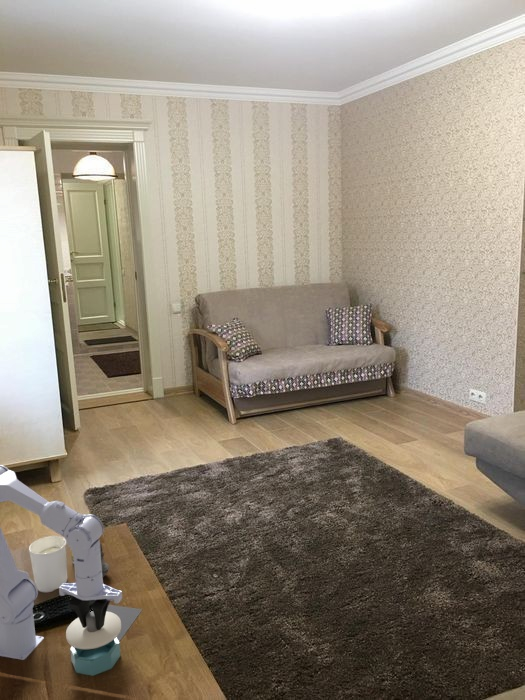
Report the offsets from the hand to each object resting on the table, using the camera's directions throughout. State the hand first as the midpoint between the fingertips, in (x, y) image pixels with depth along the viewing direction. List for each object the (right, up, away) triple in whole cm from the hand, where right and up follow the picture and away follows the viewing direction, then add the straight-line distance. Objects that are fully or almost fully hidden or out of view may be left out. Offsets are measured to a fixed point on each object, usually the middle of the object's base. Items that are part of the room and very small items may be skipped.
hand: (93, 626), depth 135 cm
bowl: (0, -9, +2) cm, 9 cm away
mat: (-1, -6, +15) cm, 16 cm away
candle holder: (-21, -3, +32) cm, 39 cm away
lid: (0, -1, 0) cm, 1 cm away
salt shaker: (-8, -3, +34) cm, 35 cm away
